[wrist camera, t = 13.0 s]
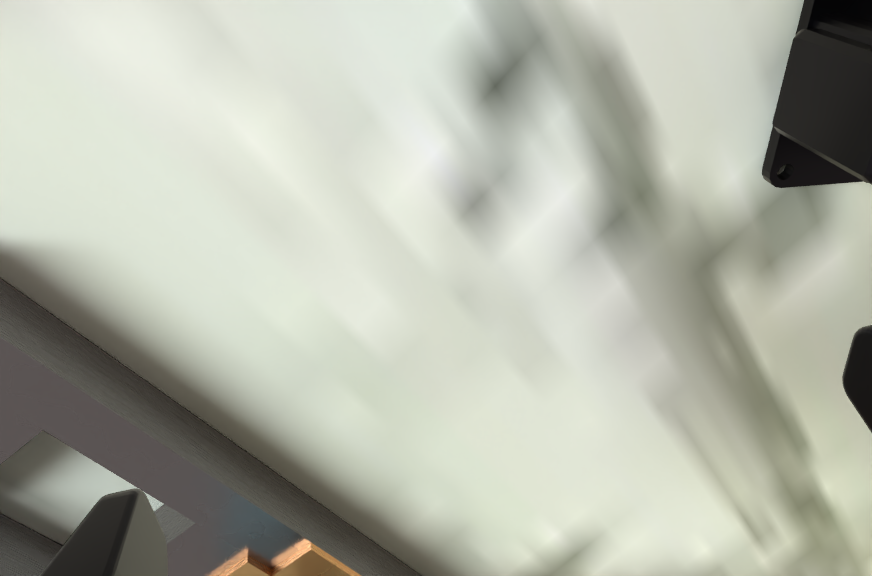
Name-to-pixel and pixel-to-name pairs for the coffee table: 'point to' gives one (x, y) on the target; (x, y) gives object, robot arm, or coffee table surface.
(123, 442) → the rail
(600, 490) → the coffee table surface
